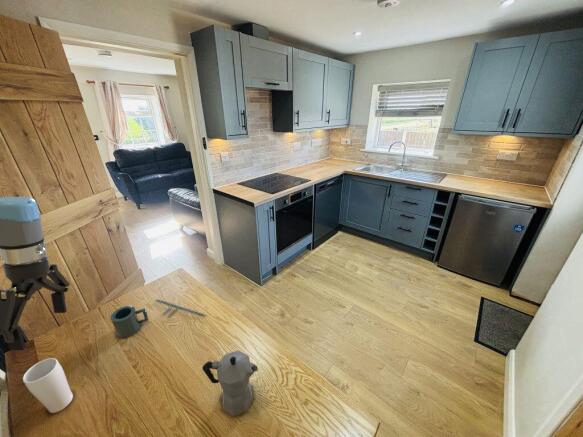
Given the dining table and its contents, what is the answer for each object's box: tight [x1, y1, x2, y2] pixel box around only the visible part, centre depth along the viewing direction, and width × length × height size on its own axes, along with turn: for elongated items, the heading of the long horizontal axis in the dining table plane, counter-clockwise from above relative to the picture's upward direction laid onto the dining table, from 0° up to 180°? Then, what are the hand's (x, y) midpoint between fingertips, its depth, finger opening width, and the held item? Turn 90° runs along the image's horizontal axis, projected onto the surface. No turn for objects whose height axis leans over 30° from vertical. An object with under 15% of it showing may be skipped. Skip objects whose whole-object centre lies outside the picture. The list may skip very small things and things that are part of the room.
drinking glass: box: [22, 357, 74, 414], centre depth 65 cm, size 7×7×15 cm
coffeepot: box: [202, 350, 259, 417], centre depth 67 cm, size 15×9×18 cm, turn 86°
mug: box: [110, 305, 149, 339], centre depth 90 cm, size 11×8×9 cm
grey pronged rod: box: [156, 299, 204, 318], centre depth 99 cm, size 1×25×5 cm
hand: (41, 328), depth 65 cm, fingers open, 13 cm apart
